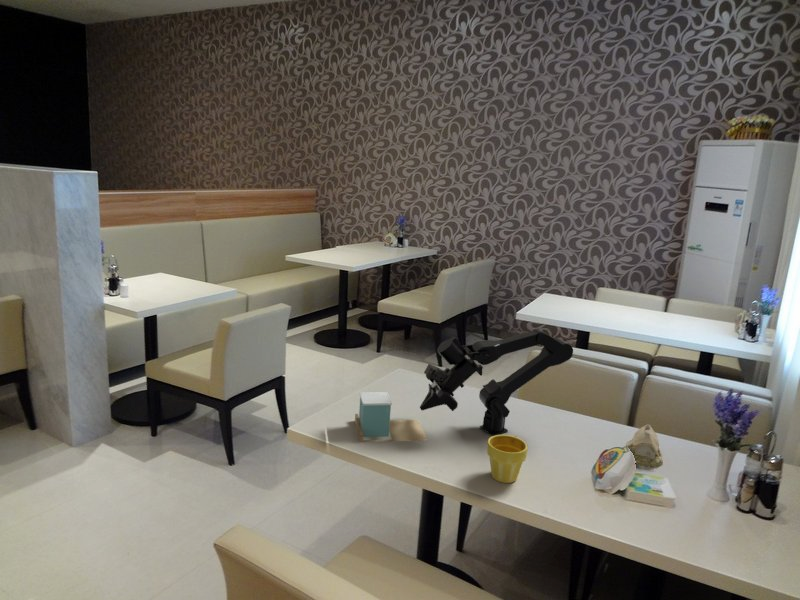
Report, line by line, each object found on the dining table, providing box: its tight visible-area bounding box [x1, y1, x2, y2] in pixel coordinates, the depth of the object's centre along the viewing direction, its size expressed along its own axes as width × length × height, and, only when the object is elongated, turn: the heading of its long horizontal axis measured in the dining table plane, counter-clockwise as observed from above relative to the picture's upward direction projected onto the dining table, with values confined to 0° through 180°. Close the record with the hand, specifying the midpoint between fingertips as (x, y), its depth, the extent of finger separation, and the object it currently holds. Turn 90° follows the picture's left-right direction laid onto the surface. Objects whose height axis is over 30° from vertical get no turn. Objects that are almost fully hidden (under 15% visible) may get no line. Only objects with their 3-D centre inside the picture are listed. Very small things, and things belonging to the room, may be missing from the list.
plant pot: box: [486, 434, 528, 484], centre depth 152 cm, size 10×10×10 cm
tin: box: [358, 391, 393, 437], centre depth 172 cm, size 8×8×11 cm
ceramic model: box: [625, 424, 664, 468], centre depth 169 cm, size 14×11×10 cm
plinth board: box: [354, 413, 428, 443], centre depth 174 cm, size 20×14×3 cm
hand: (420, 409), depth 175 cm, fingers closed
